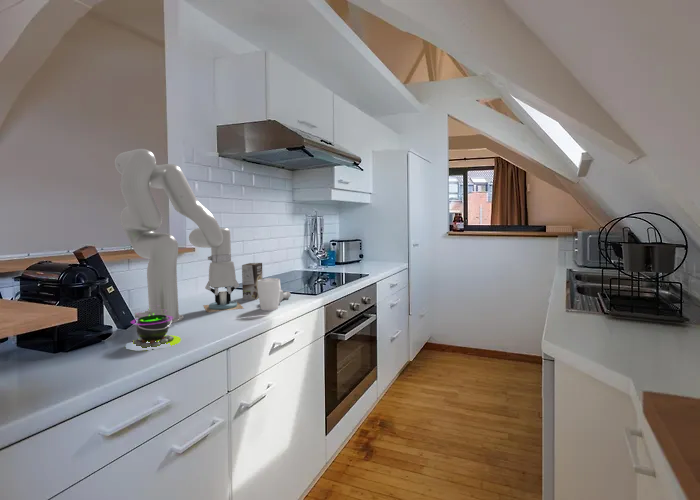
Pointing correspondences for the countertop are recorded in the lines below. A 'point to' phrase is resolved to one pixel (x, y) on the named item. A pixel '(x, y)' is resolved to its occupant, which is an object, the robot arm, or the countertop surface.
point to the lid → (223, 302)
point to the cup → (269, 293)
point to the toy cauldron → (154, 331)
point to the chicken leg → (284, 295)
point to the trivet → (222, 310)
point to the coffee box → (251, 280)
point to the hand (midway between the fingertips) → (223, 303)
